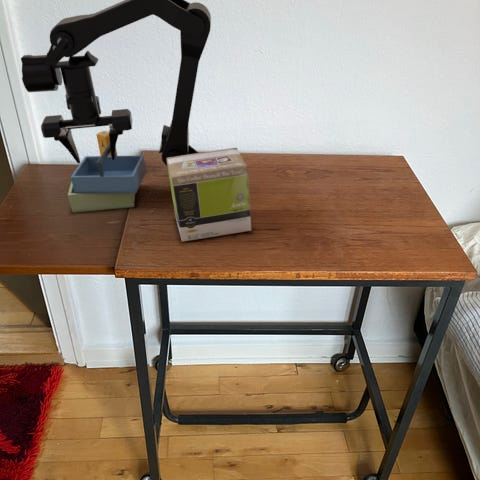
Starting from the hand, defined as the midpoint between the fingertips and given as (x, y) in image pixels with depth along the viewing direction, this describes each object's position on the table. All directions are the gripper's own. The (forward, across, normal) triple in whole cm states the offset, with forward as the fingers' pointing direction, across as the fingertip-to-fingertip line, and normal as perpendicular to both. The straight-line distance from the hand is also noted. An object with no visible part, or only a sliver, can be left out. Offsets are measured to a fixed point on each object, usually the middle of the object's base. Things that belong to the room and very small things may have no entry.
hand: (96, 161), depth 121 cm
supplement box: (+10, -1, -15) cm, 18 cm away
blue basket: (+5, -3, +1) cm, 6 cm away
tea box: (+10, -24, +18) cm, 31 cm away
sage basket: (+9, 0, 0) cm, 9 cm away
